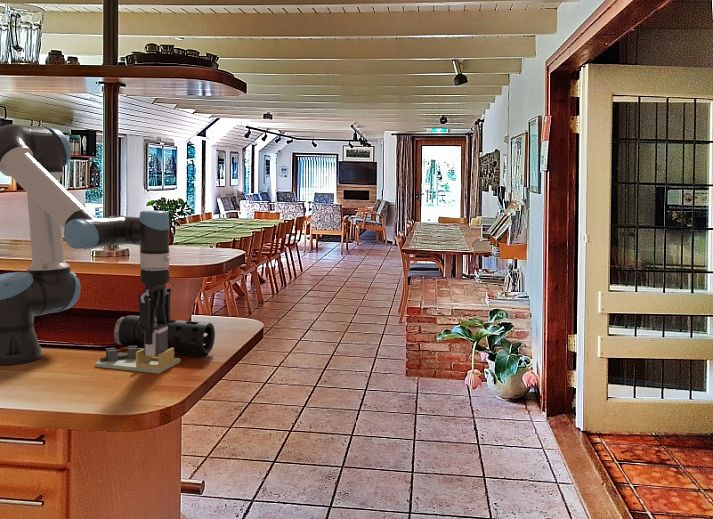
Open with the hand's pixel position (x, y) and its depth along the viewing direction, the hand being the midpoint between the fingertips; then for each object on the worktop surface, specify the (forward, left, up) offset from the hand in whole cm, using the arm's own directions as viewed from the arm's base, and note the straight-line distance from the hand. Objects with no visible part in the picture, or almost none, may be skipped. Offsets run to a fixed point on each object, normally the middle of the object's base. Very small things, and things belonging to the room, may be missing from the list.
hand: (155, 353), depth 191 cm
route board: (-6, +2, -4) cm, 8 cm away
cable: (-10, +1, -3) cm, 10 cm away
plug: (0, 0, 0) cm, 0 cm away
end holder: (0, 0, -4) cm, 4 cm away
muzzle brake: (-6, +15, -5) cm, 17 cm away
